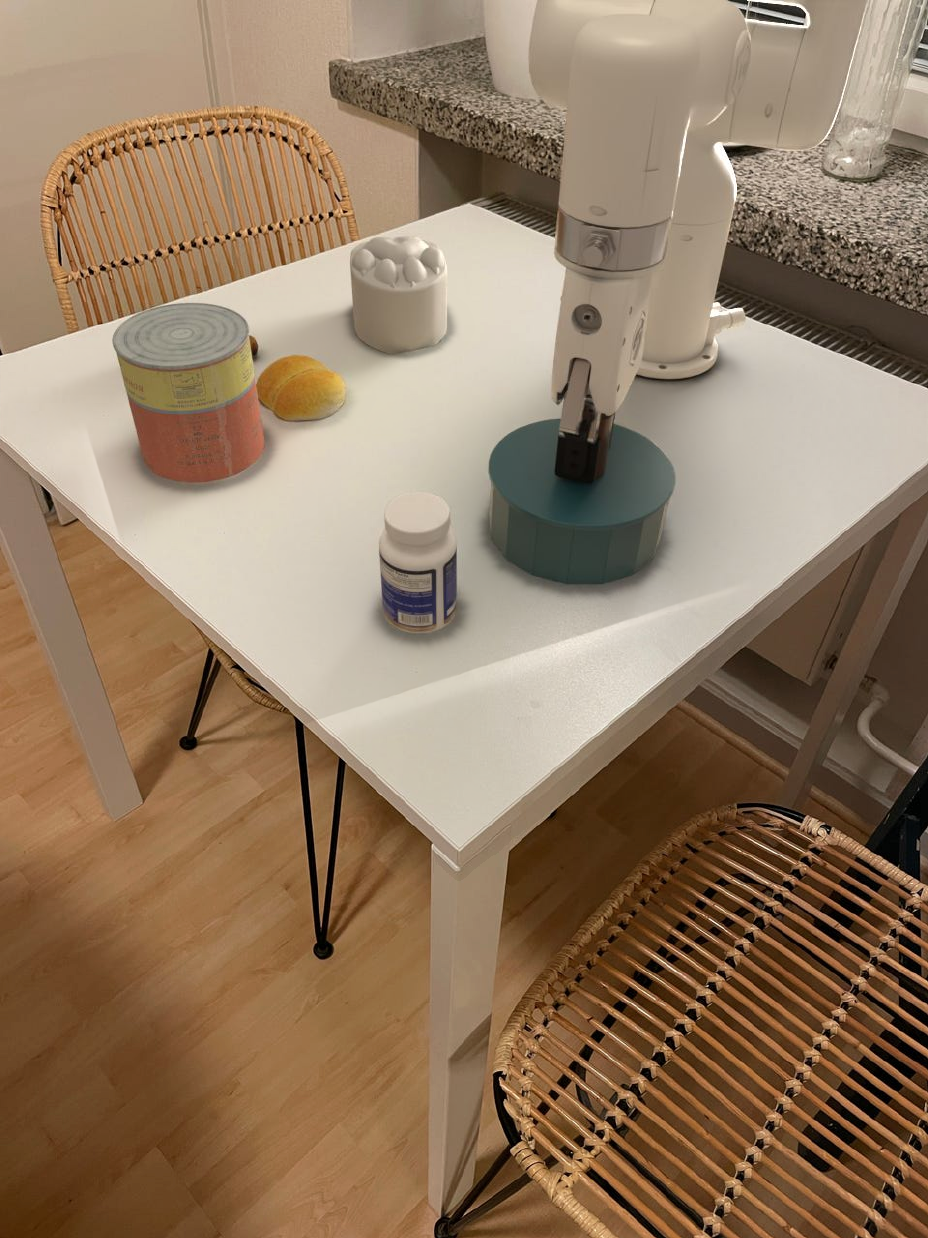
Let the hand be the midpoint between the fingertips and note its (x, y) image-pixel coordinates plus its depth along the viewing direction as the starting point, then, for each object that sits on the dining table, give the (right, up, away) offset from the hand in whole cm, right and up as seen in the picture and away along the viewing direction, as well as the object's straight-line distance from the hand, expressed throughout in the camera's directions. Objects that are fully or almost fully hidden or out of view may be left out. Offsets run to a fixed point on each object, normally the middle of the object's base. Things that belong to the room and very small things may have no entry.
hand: (582, 460), depth 76 cm
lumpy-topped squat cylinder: (-17, +20, +31) cm, 41 cm away
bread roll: (-26, +9, +20) cm, 34 cm away
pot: (0, -5, +5) cm, 7 cm away
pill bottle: (-13, -12, -2) cm, 18 cm away
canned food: (-34, +3, +13) cm, 36 cm away
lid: (0, -1, +1) cm, 1 cm away
